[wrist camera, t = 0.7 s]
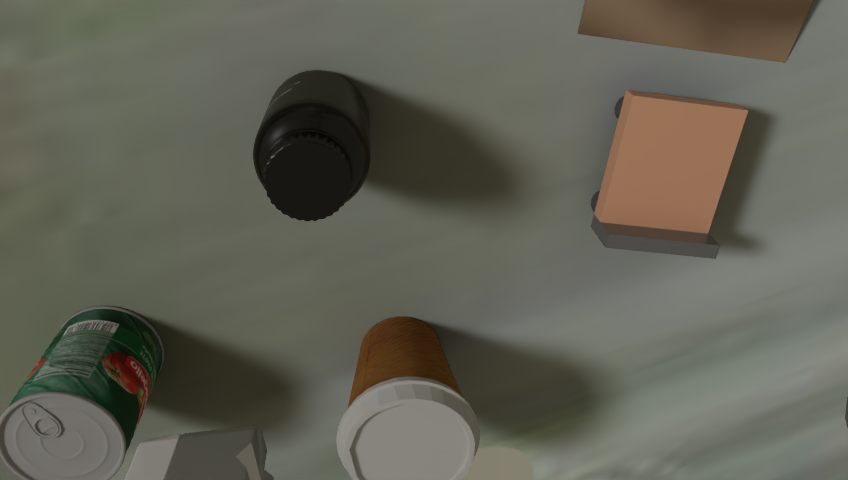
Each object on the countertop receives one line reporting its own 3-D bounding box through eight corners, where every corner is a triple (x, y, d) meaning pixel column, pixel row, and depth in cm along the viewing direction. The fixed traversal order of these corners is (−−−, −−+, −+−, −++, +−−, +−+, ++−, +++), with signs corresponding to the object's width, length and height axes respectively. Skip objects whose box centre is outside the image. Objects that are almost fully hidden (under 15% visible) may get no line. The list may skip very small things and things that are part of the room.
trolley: (616, 82, 53) (643, 103, 48) (725, 97, 54) (762, 118, 49) (583, 215, 57) (605, 247, 52) (684, 226, 58) (715, 258, 53)
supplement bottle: (269, 63, 50) (245, 112, 39) (373, 73, 51) (377, 124, 40) (266, 161, 53) (243, 233, 42) (364, 170, 54) (366, 242, 43)
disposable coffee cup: (361, 283, 58) (362, 376, 47) (478, 316, 60) (505, 412, 49) (324, 383, 61) (317, 491, 50) (435, 411, 63) (451, 520, 52)
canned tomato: (185, 366, 59) (150, 463, 50) (100, 407, 60) (49, 510, 50) (123, 287, 56) (73, 374, 46) (34, 332, 57) (-34, 427, 47)
